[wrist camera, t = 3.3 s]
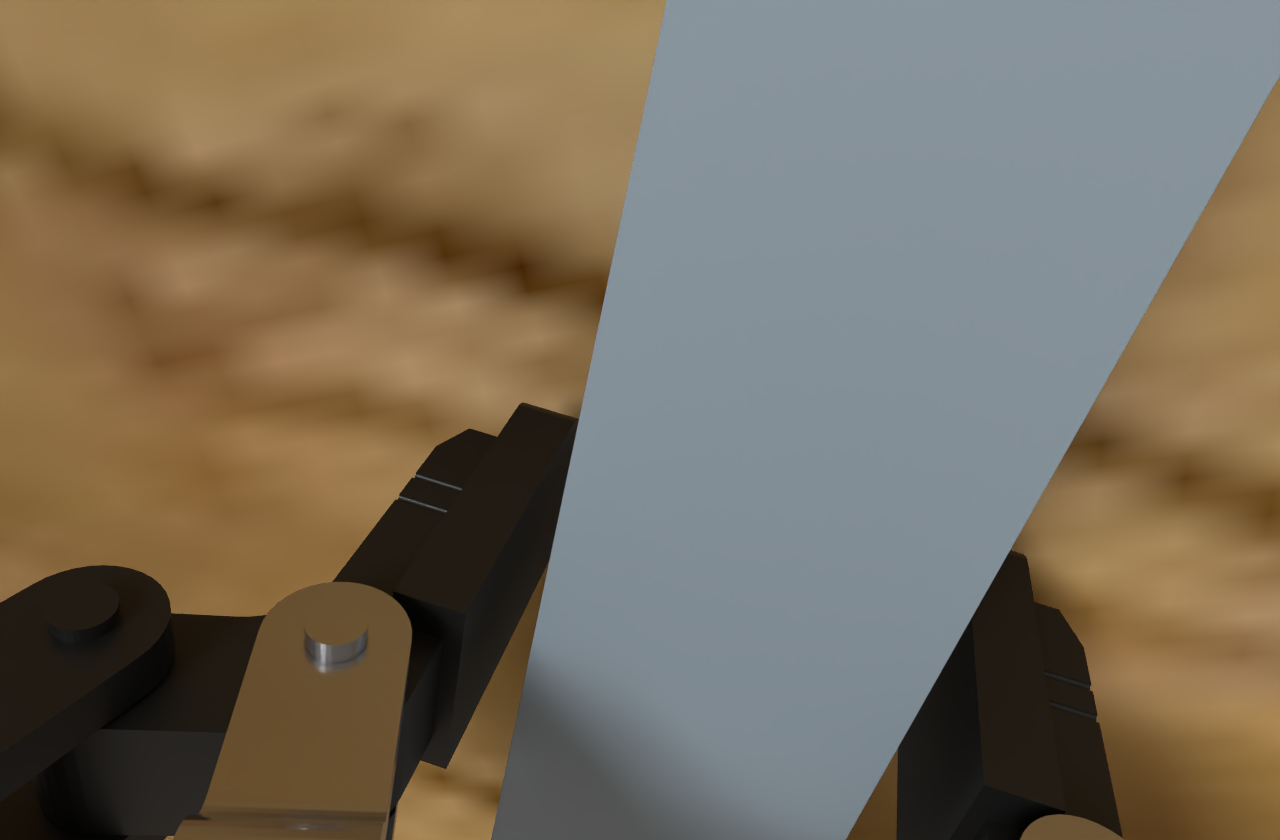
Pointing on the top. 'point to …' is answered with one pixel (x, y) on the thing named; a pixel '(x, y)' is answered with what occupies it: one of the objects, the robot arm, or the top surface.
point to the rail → (846, 379)
